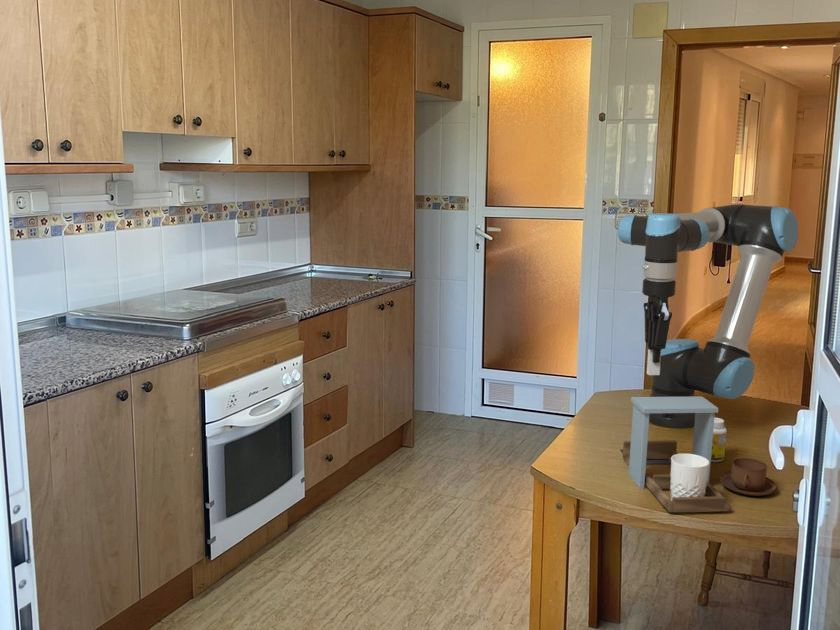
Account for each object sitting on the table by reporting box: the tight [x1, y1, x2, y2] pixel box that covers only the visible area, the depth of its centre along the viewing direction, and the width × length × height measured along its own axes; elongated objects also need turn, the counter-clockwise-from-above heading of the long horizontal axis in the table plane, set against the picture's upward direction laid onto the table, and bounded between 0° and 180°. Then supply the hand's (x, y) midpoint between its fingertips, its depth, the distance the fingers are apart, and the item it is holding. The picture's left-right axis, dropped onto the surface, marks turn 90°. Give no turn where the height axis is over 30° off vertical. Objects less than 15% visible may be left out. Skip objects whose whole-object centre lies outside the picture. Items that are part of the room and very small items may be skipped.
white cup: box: [670, 453, 709, 501], centre depth 181 cm, size 8×8×10 cm
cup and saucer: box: [719, 457, 777, 497], centre depth 190 cm, size 12×12×6 cm
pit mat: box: [619, 448, 671, 466], centre depth 209 cm, size 10×10×1 cm
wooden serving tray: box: [622, 439, 730, 513], centre depth 191 cm, size 31×13×4 cm, turn 4°
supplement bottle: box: [711, 417, 728, 463], centre depth 208 cm, size 6×6×10 cm
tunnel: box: [628, 395, 719, 490], centre depth 192 cm, size 9×17×19 cm, turn 94°
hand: (653, 374), depth 204 cm, fingers closed
